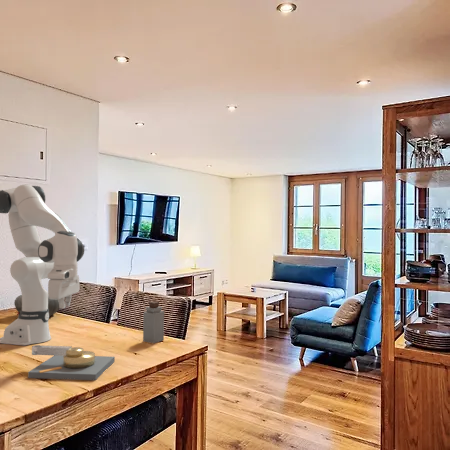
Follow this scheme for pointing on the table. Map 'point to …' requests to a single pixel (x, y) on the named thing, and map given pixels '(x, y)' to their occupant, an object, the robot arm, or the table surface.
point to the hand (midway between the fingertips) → (64, 307)
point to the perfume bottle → (153, 323)
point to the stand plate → (70, 369)
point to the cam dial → (67, 355)
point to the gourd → (52, 305)
